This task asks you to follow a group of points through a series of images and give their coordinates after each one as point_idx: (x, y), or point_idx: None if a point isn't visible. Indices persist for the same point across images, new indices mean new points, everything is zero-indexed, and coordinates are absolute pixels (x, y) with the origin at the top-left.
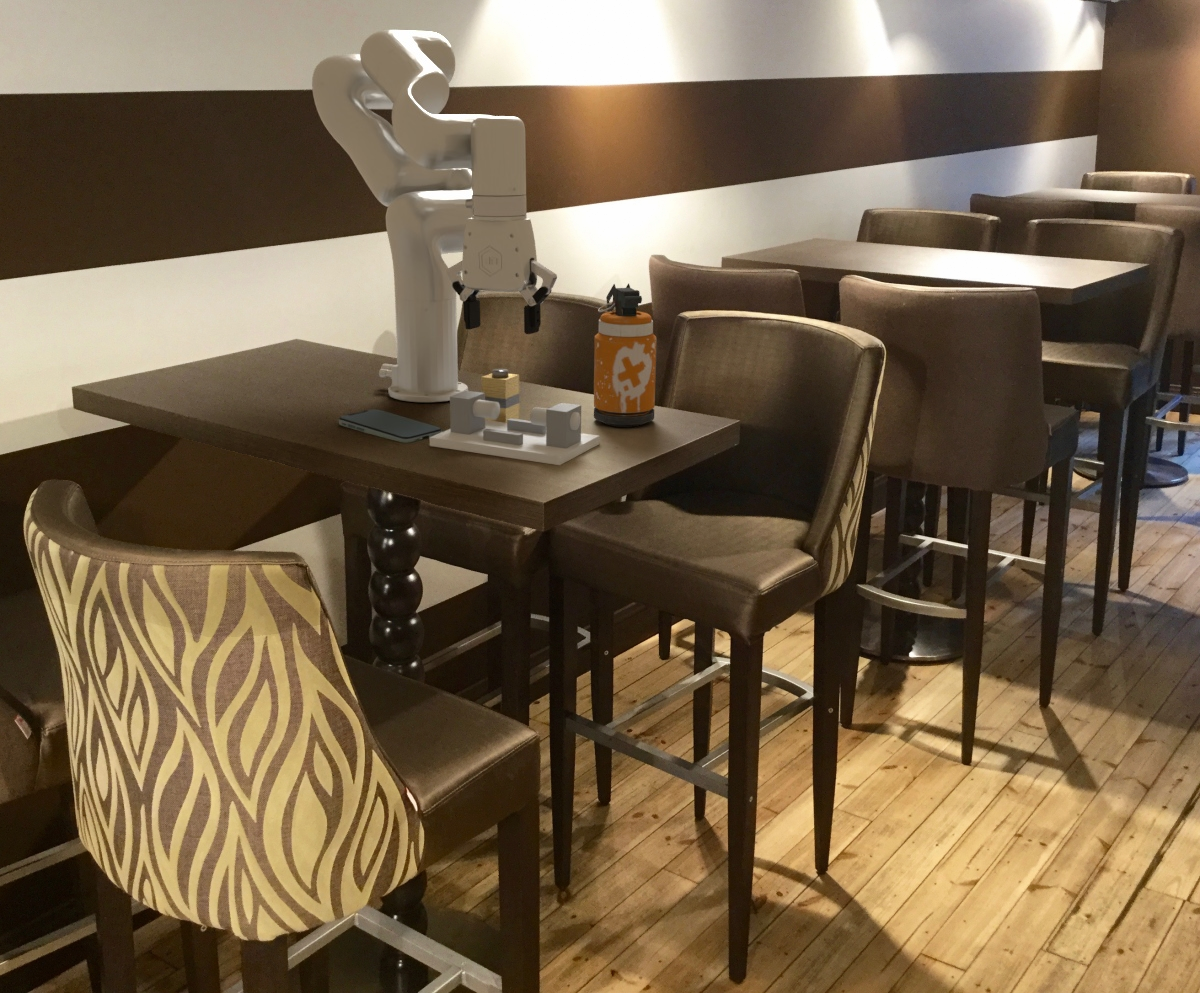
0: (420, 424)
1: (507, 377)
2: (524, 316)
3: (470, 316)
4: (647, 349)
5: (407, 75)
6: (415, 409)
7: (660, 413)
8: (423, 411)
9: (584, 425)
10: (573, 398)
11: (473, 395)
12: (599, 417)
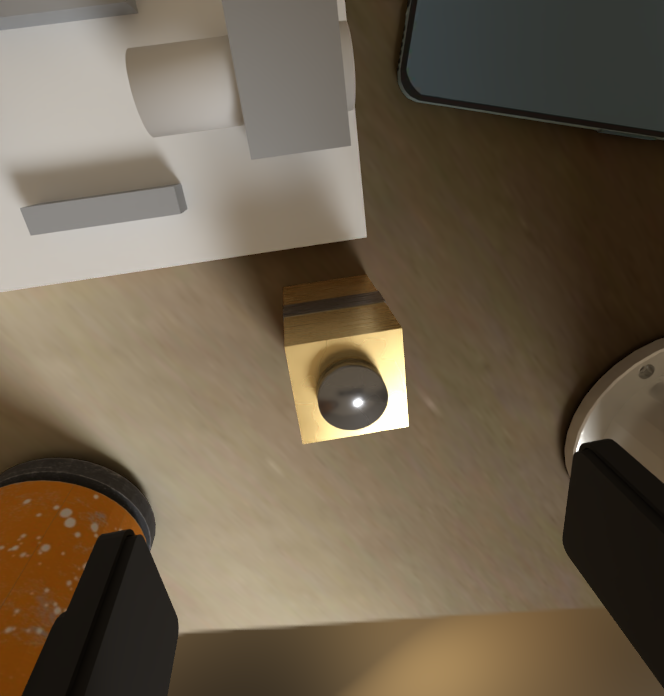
0: (495, 78)
1: (308, 384)
2: (92, 651)
3: (635, 517)
4: None
5: None
6: (626, 287)
7: None
8: (594, 283)
9: (123, 432)
10: (331, 590)
11: (257, 76)
12: (79, 467)
